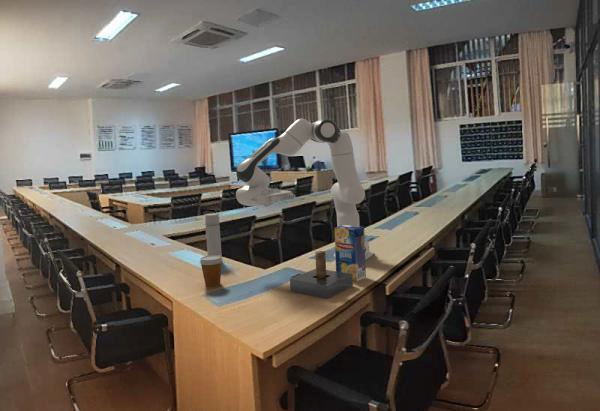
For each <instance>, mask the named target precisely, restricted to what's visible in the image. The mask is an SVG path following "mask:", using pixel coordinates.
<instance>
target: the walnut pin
mask: <svg viewBox="0 0 600 411" xmlns="http://www.w3.org/2000/svg"><path fill="white" fill-rule="evenodd" d="M314 253H315V269H316V278H319V279H325V278H326V270H327V264H326V263H327V261H326V258H327V257H326V251H325V250H317V251H315V252H314Z"/></svg>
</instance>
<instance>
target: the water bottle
mask: <svg viewBox="0 0 600 411" xmlns="http://www.w3.org/2000/svg"><path fill="white" fill-rule="evenodd" d="M204 216H205V219H204V221H205V222H204V224H203V225H204V226H205V238H206V249H207V250H206V251H207V256H210V255H219V256H221V258H222V242H221V228H220V227H221V226H220V217H219V216H220V215H219V213H206V214H205V215H204ZM222 259H223V258H222Z"/></svg>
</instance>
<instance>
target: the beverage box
mask: <svg viewBox="0 0 600 411" xmlns="http://www.w3.org/2000/svg"><path fill="white" fill-rule="evenodd" d="M365 237H366V234H365V227H364V226H360V227H358V226H348V225H343V226H338V227H337V226H336V227H334V250H335V251H334V254H335V256H336V259H335V271H337V272H343V273H350V274H352V277H353V282H358V281H361V280H363V279H366V275H367V274H366V273H367V272H366V270H367V269H366V260H365V241H366V238H365Z"/></svg>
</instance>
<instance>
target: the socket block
mask: <svg viewBox="0 0 600 411" xmlns="http://www.w3.org/2000/svg"><path fill="white" fill-rule="evenodd" d="M353 282H354V281H353V277H352V274H350V273H343V272H337V271H336V270H335V271H334V270H330V269H329V270H328V269H326V278H325V279H319V278H316V268H314V269H311V270H308V271H306V272H304V273H301V274H299V275H296V276H294V277H292V278H289V288H290V292H293V293H297V294H302V295H308V296H313V297H317V298H322V299H327V300H328V299H330V298H332V297H334V296H336V295H338V294H340V293H342V292H344V291H345V290H348V289H349V288H352V287H353V286H354V283H353Z"/></svg>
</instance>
